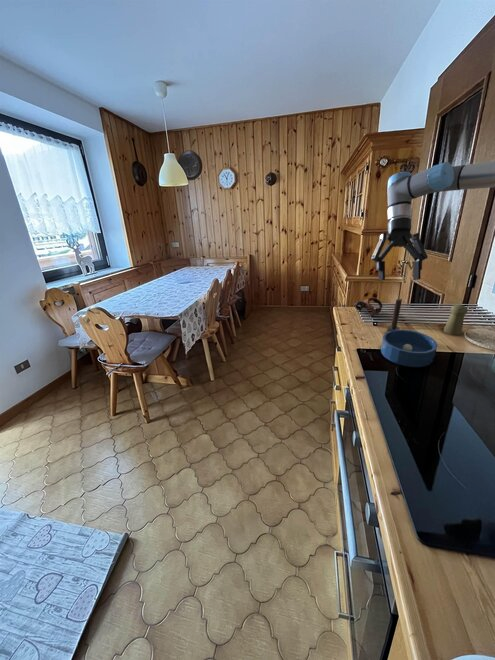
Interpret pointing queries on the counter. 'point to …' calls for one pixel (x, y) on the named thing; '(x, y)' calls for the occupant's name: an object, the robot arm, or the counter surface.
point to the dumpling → (407, 347)
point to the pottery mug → (369, 306)
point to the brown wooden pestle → (395, 316)
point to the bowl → (417, 357)
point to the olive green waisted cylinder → (455, 320)
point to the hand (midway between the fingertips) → (399, 279)
